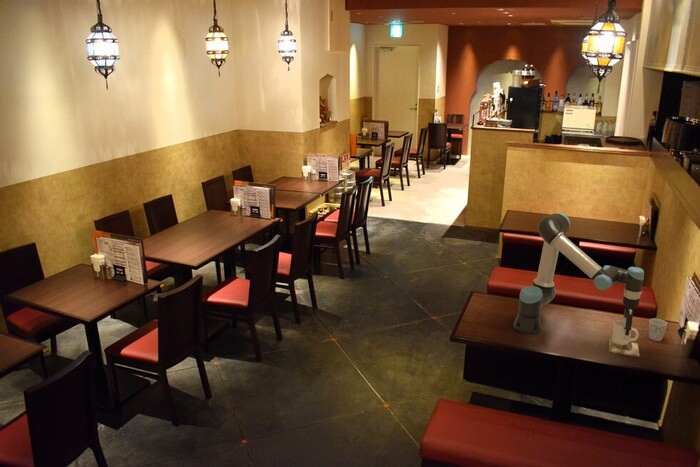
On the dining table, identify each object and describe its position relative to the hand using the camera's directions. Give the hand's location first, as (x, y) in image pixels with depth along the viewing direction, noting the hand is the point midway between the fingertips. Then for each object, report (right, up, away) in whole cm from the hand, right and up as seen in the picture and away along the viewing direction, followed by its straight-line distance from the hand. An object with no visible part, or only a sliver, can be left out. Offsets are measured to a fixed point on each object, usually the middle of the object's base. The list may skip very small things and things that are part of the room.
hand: (625, 334), depth 291 cm
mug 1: (0, -4, +1) cm, 4 cm away
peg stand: (0, -7, +2) cm, 8 cm away
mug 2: (+24, -4, +14) cm, 28 cm away
